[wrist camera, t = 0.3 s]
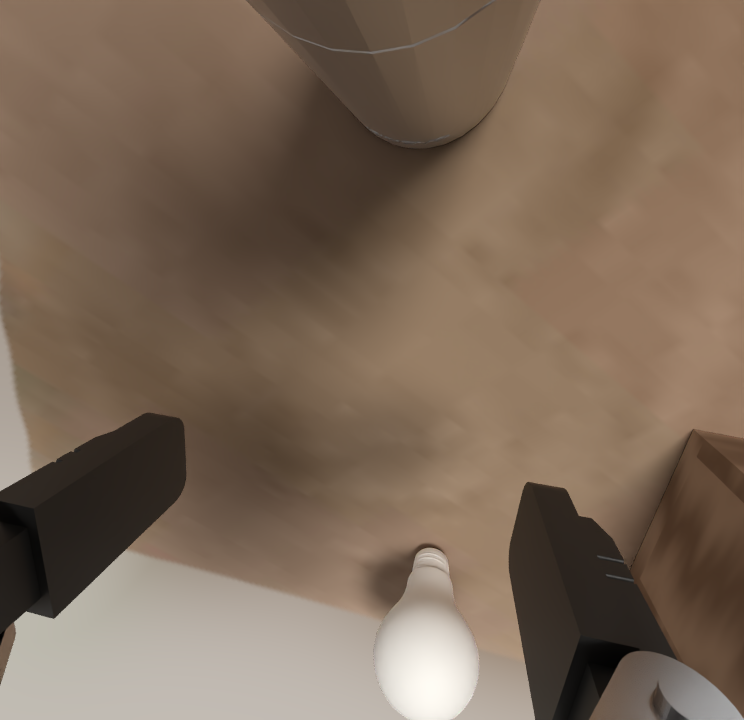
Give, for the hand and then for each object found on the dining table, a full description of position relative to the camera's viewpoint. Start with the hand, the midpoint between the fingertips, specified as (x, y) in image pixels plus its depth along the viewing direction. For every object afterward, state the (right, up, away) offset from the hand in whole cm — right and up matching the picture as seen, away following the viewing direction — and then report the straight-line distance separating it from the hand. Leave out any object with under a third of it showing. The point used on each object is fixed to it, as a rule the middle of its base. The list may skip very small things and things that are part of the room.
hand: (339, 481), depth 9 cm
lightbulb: (+5, -12, +22) cm, 26 cm away
